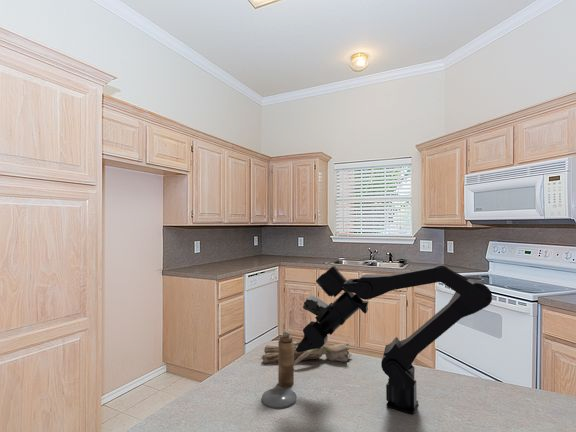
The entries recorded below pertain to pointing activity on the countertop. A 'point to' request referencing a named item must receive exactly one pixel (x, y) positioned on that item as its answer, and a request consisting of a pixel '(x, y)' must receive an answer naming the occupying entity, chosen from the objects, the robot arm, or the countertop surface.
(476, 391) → the countertop surface
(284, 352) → the pepper mill
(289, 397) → the coaster
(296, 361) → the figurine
